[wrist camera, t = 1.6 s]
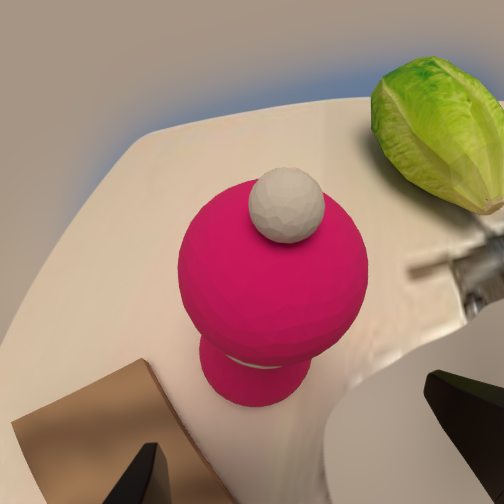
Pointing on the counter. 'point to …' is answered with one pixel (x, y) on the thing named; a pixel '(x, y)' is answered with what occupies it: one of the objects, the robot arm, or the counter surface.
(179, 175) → the counter surface
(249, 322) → the pepper mill
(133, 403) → the walnut board
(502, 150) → the lettuce
